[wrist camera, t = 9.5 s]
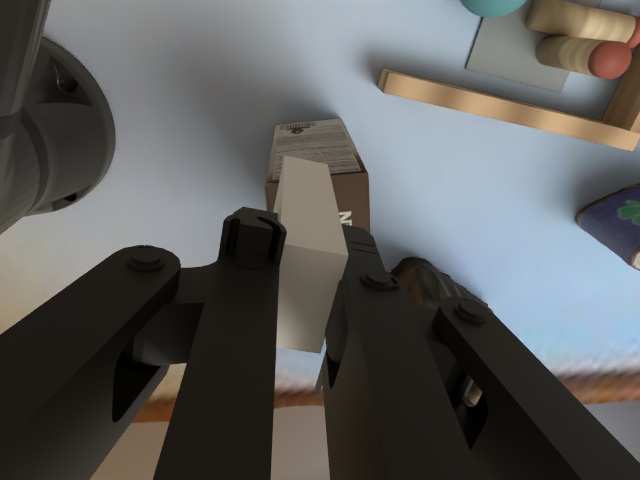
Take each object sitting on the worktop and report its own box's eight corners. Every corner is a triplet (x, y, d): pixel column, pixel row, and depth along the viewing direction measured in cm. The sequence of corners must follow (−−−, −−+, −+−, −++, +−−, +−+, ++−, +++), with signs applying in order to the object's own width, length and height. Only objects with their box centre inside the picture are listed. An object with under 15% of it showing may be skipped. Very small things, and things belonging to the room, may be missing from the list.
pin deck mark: (465, 68, 40) (466, 69, 40) (522, -97, 35) (523, -98, 35) (559, 92, 41) (560, 92, 41) (627, -64, 36) (629, -65, 36)
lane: (377, 87, 40) (385, 94, 37) (449, -178, 33) (468, -201, 29) (611, 142, 44) (640, 154, 40) (727, -86, 36) (775, -96, 32)
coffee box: (348, 210, 45) (374, 304, 31) (283, 216, 45) (278, 313, 31) (343, 115, 41) (370, 172, 27) (271, 122, 41) (259, 182, 27)
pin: (529, 61, 40) (589, 74, 32) (541, 31, 39) (606, 37, 31) (555, 67, 40) (620, 82, 32) (567, 38, 39) (638, 46, 31)
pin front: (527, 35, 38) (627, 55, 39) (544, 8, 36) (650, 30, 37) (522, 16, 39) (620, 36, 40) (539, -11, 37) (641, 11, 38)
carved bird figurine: (397, 366, 54) (448, 541, 37) (331, 297, 50) (353, 460, 32) (491, 308, 51) (597, 468, 34) (431, 228, 47) (517, 365, 29)
